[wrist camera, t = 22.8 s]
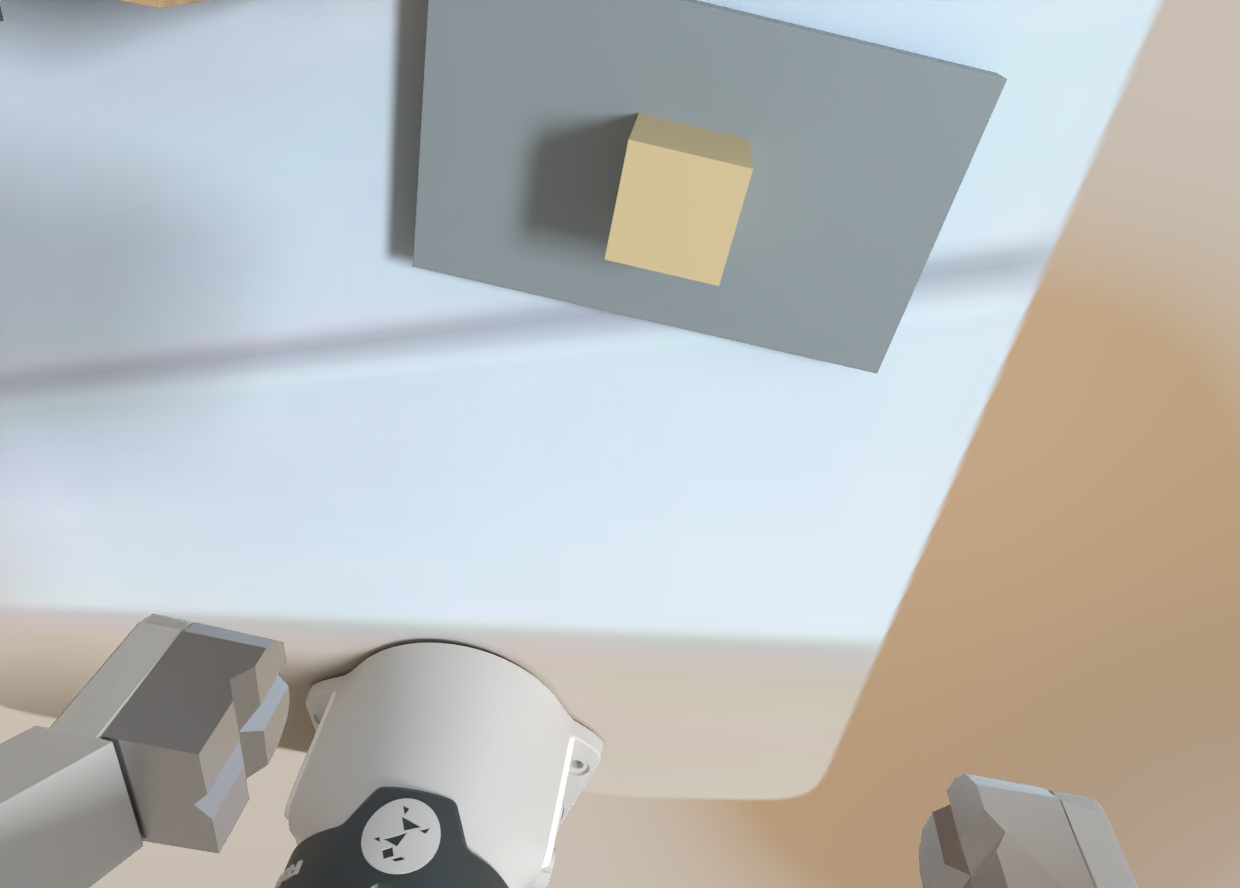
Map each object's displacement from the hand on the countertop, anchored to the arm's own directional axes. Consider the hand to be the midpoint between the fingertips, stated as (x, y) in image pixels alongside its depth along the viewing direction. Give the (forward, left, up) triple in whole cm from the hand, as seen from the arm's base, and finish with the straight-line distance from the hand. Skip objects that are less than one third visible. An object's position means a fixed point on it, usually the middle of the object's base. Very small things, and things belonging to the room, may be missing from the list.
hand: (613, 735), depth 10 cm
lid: (0, 0, -25) cm, 25 cm away
